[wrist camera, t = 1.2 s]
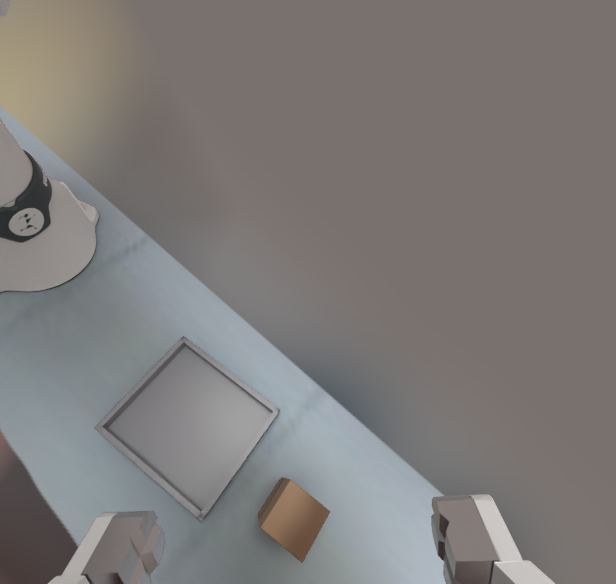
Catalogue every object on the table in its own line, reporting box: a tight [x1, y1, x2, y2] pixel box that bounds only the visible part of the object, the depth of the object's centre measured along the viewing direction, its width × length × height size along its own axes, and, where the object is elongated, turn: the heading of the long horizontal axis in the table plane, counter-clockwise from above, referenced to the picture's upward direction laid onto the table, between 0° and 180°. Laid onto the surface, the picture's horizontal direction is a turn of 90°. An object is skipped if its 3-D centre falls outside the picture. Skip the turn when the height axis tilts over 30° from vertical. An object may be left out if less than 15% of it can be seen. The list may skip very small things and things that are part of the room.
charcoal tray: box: [94, 336, 280, 521], centre depth 42 cm, size 16×14×2 cm
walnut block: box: [258, 477, 330, 563], centre depth 36 cm, size 4×4×11 cm
